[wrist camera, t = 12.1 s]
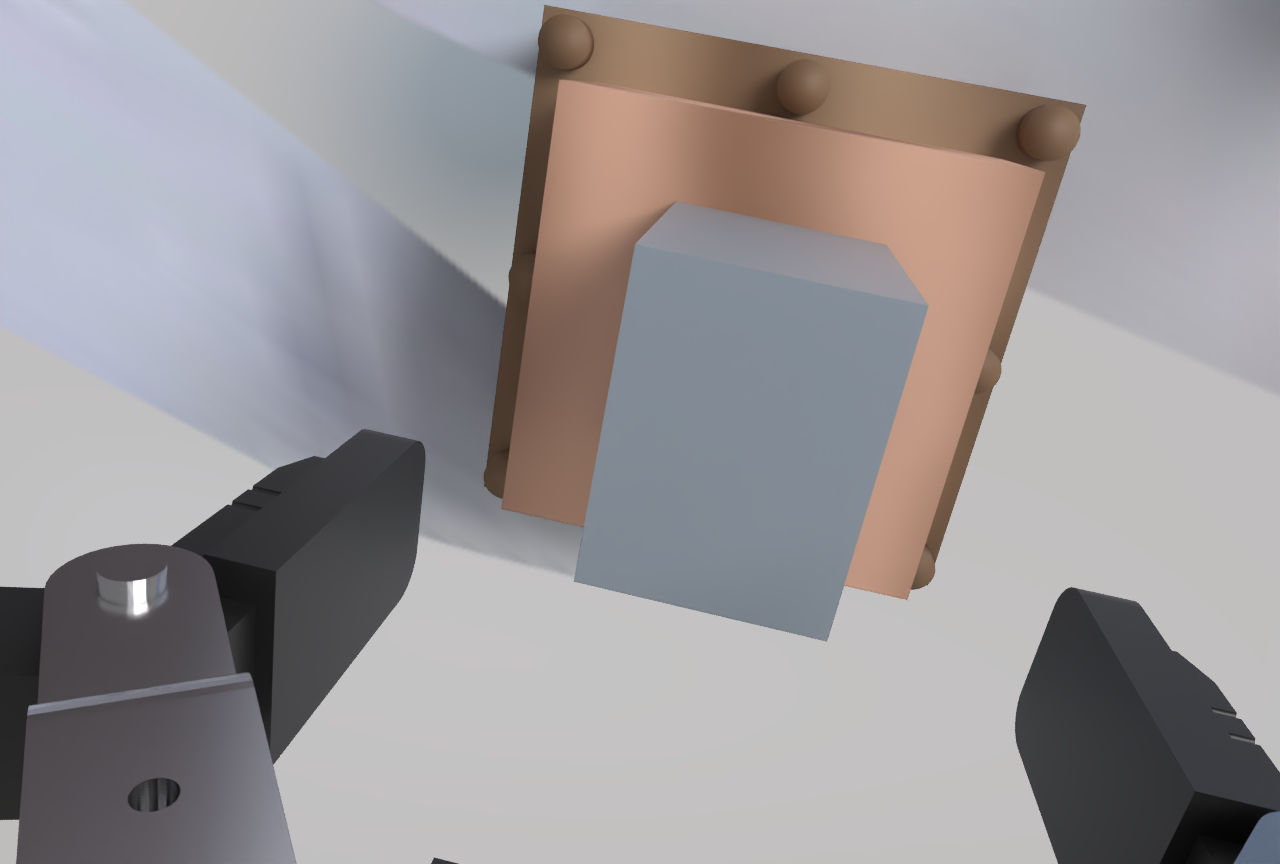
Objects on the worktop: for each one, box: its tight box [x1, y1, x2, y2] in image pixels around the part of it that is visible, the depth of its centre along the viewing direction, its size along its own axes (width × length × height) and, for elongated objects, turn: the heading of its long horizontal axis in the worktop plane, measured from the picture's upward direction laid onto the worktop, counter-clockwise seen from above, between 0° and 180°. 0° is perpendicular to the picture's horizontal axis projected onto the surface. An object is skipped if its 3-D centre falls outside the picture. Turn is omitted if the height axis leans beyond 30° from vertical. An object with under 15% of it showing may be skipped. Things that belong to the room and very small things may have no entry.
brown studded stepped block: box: [484, 5, 1086, 600], centre depth 25 cm, size 13×13×9 cm
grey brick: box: [574, 201, 929, 641], centre depth 18 cm, size 4×6×6 cm
